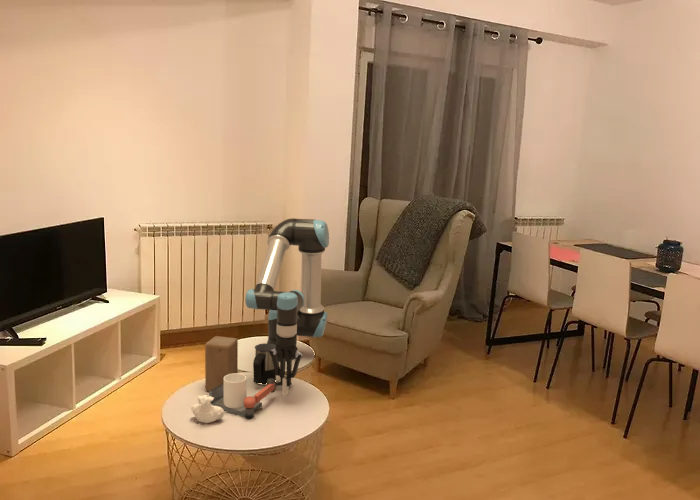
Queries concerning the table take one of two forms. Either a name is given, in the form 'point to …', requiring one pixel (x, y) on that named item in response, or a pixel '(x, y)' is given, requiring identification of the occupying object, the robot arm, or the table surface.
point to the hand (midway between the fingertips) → (285, 393)
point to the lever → (259, 394)
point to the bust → (207, 410)
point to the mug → (234, 390)
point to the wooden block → (220, 360)
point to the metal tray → (242, 411)
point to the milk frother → (264, 364)
